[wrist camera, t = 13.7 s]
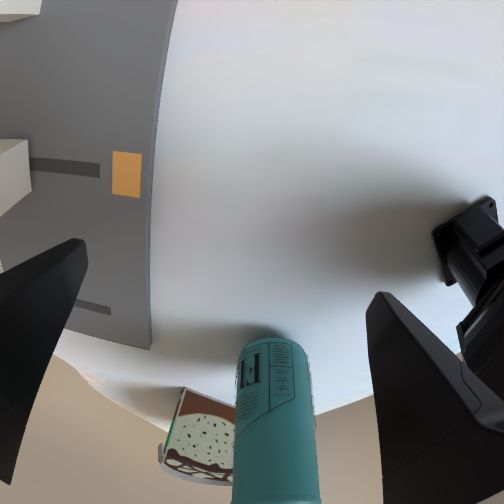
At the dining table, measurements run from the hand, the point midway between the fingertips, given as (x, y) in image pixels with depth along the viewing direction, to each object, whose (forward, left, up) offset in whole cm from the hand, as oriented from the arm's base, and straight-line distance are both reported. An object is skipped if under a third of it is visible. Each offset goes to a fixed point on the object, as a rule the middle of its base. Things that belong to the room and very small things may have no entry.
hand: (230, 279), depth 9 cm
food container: (-23, +22, -12) cm, 34 cm away
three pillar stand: (+8, +11, -12) cm, 18 cm away
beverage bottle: (-16, +8, -12) cm, 22 cm away
